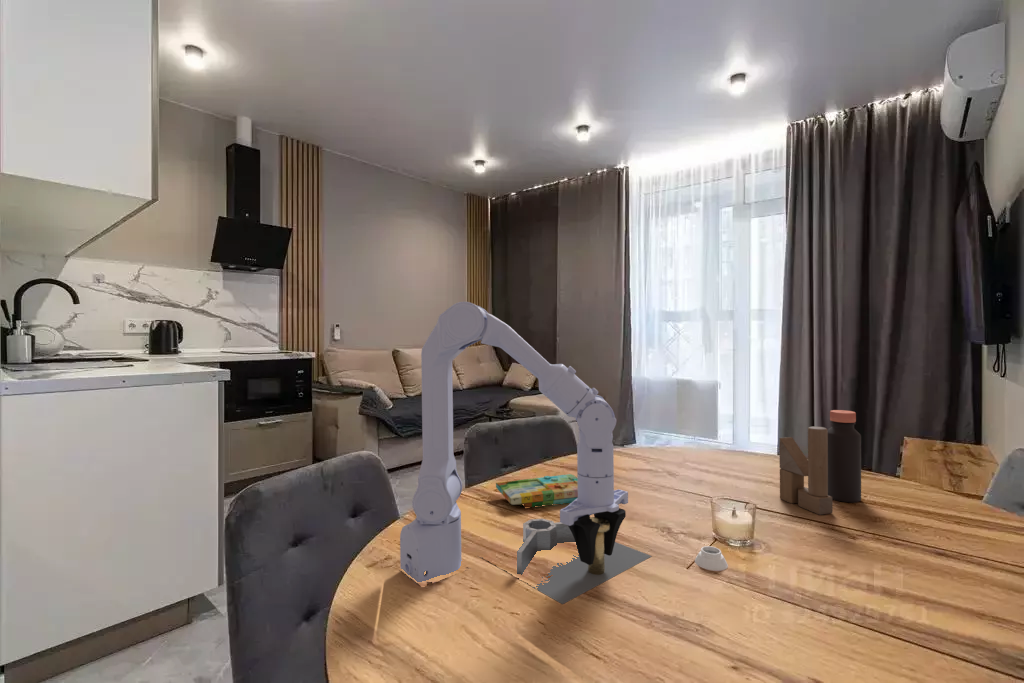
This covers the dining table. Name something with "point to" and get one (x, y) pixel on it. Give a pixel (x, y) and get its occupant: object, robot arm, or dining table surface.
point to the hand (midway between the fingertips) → (596, 557)
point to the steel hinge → (540, 539)
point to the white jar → (711, 559)
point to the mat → (588, 574)
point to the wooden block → (806, 472)
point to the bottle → (844, 457)
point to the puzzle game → (540, 490)
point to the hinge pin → (599, 547)
